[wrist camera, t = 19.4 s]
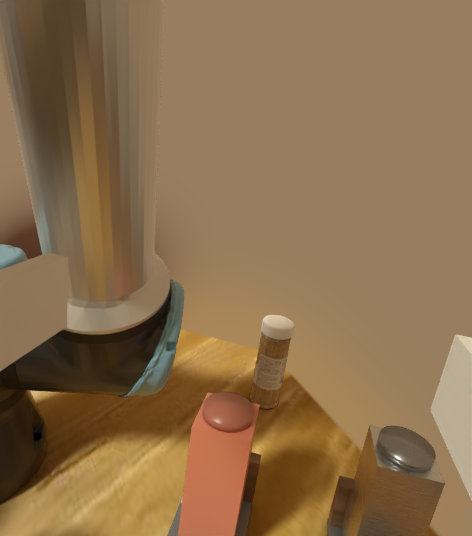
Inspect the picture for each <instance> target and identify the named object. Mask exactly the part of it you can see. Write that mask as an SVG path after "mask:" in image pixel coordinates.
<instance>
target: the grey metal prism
mask: <svg viewBox="0 0 472 536" xmlns="http://www.w3.org/2000/svg"><path fill="white" fill-rule="evenodd" d="M444 485H445V482H444V480H443V477H442V475H441V473H440V470H439V467H438V465H437V462H436V460H435V451H434V449H433V447H432V446H431V445H430V443H429V442H428V440H427V439H424V438H423V437H421V436H420V435H419V434H417V433H415V432H413V431H411V430H409V429H406V428H403V427H399V426H387V427H384V428H379V427H374V426H369V429H368V433H367V436H366V440H365V444H364V447H363V450H362V454H361V457H360V461H359V464H358V468H357V471H356V475H355V478H354V482H353V485H352V489H351V492H350V496H349V499H348V503H347V506H346V510H345V513H344V517H343V520H342V524H341V533H342V536H426V533H427V530H428V528H429V525H430V522H431V520H432V517H433V514H434V511H435V509H436V506H437V503H438V501H439V498H440V495H441V493H442V490H443V487H444Z"/></svg>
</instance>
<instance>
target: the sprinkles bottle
mask: <svg viewBox="0 0 472 536" xmlns="http://www.w3.org/2000/svg"><path fill="white" fill-rule="evenodd" d="M293 330H294V323H293V322H292V321H291V320H290V319H288V318H286V317H283V316H279V315H268V316H266V317H264V319H263V321H262V326H261V331H262V332H261V333H262V334H261V339H260V345H259V351H258V356H257V361H256V365H255V370H254V376H253V384H252V390H251V393H250V400H251V401H252V403H254V404H258V405H260V407H261V408H265V409H270V408H274V407H276V406H277V405H278V403H279V393H280V388H281V386H282V382H283V377H284V372H285V367H286V361H287V356H288V349H289V344H290V339H291V337H292V335H293Z"/></svg>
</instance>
